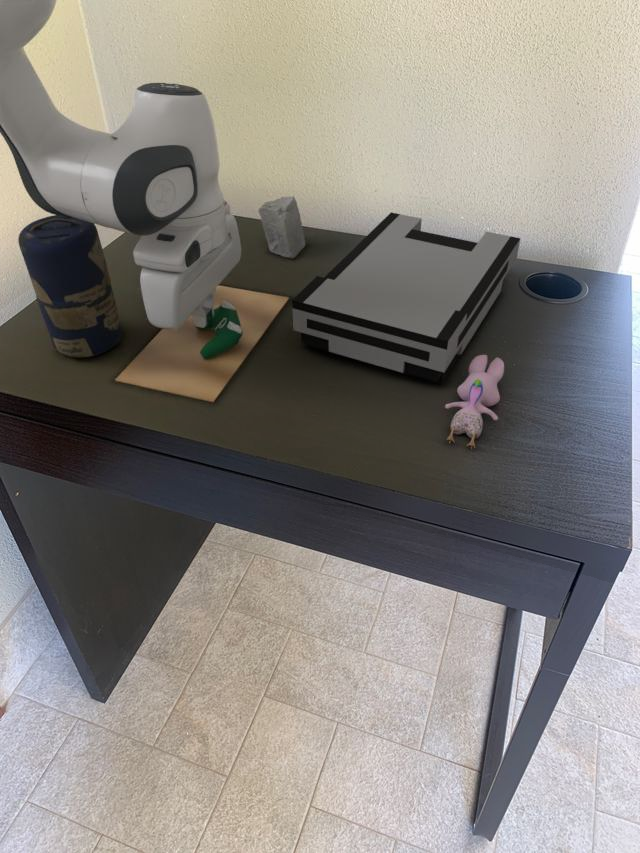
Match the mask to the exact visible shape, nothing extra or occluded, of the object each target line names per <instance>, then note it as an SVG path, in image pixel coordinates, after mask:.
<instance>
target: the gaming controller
mask: <svg viewBox="0 0 640 853" xmlns="http://www.w3.org/2000/svg"><path fill="white" fill-rule="evenodd" d="M195 327H196V326H195ZM196 328H197V329H209V328H214V330H215V334H216V337H214V338H213V339H212V340H210V341H209V342H208V343H206V344H205V345H204V347H203V348H202V349H201V351H200V354H201V355H202V357H203V358H204V359H208V358H212V357H215V356H217V355H220V354H222V353H224V352H225V351H227V350H229V349H230V348H232V347H233V346H235V345H236V344H238V343H239V340H240V338H241V336H242V333H243V331H242V328H241V324H240V321H239V317H238V315H237V311H236V309H235V307H234V306H233V305H232V304H230V303H228V302H226V301H223V303H222V304H221V305H220V307H218V308H215V309H214V317H213V318H212V319H211V320H210V321H209V323H208V324H207V325H206V326H205V327H204V328H202V327H196Z"/></svg>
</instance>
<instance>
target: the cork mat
mask: <svg viewBox="0 0 640 853" xmlns="http://www.w3.org/2000/svg"><path fill="white" fill-rule="evenodd" d="M289 300H290V297H288V296H284V295H277V294H272V293H265V292H261V291H260V292H259V291H253V290H248V289H242V288H236V287H230V286H224V285H220V284H219V285H218V286H217V287H216V296H215V302H214V306H213V308H214V309H215V308H218V307H220V305H221V304H222V303H223V301H226V302H228V303H230V304H232V305H233V306H234V307H235V309H236V311H237V315H238V317H239V321H240V324H241V328H242V331H243V333H242V336H241V338H240V340H239V343H238V344H236V345H235V346H233V347H232V348H230V349H229V350H227V351H225V352H224V353H222V354H220V355H217V356H215V357H212V358H208V359H204V358H203V357H202V355H201V354H200V351H201V349H202V348H203V347H204V345H205V344H206V343H208V342H209V341H210V340H212V339H213V338H214V337H216V334H215V330H214V328H209V329H197V328H196V327H195V325H194V324H193V318H192V315H191V316H190V317H189V318H188V319H187V320H186V321H185V322H184V323H183V325H182V326H181V327H180V328H179V329H178V330H169V329H163V328H161V330H160V331H159V332H158V333H157V334H156V335H155V336H154V337H153V339H151V341H150V342H149V343H147V345H146V346H145V347H144V348H143V349H142V350H141V351H140V352H139V353H138V355H137V356H136V357H135V358H134V359H133V360H131V362H130V363H129V364H128V365H127V366H126V367H125V369H123V370H122V372H121V373H120V374H119V375H118V376H117V377H116V378H115V379H114V381H115V382H116V383H117V382H118V383H122V384H127V385H131V386H136V387H140V388H146V389H148V390H149V389H150V390H155V391H159V392H163V393H167V394H173V395H176V396H182V397H187V398H190V399H194V400H195V399H196V400H200V401H203V402H209V403H214V402H215V401H216V400H217V399H218V397H219V396H220V394H221V393H222V392H223V390H224V389H225V387H226V386H227V385H228V384H229V382H230V381H231V379H232V378H233V376H234V375H235V374H236V372H237V371H238V370H239V369H240V367H241V366H242V364H243V363H244V362H245V361H246V359H247V357H248V356H249V355H250V353H251V352H252V351H253V349H254V348H255V347H256V345H257V344H258V342H259V341H260V339H261V338H262V337H263V335H264V334H265V333H266V331H267V330H268V329H269V327H270V326H271V324H272V323H273V322H274V320H275V319H276V318H277V316H278V315H279V314H280V312H281V311H282V309H283V308H284V307H285V305H286V304H287V303H288V302H289Z"/></svg>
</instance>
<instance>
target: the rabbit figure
mask: <svg viewBox="0 0 640 853" xmlns="http://www.w3.org/2000/svg"><path fill="white" fill-rule="evenodd" d="M487 365H488V354H479V355H476V356H475V357H474V358H473V359H472V360H471V362H470V363H469V365H468V375H467V377H466V379H465V380H464V381H463V382H462V383H461V384H460V385H459V386H458V387H457V390H456V392H457V395H458V396H459V398H460V399H461V400H462V401H454V402H450V403H447V404H445V406H444V408H445V409H447V410H449V409H451V408H460V409H459V410H458V411H457V412H456V413H455V414H454V416H453V417H452V420H451V423H450V431H451V432H450V433H449V436H448V437H447V439H446V441H449V442H448V443H449V444H451V442H453V443H455V442H456V441H455V439H454V435H457V436H458V435H462V434H466V435H467V437H468V438H470V442H469V443H468V444H466V447H467V446H471V447H470V448H471V449H470V450H473V448H474V449H475V448H476V444H475V439H477V438H479V437H480V436H481V434H482V431H483V427H484V426H483V425H484V421H483V417H482V414H486V415H488V416H490V417H491V418H492V420H493V421H498V420H499V417H498V415H497V414H496V413H495V412H494V411H492V410H491V409H490V408H489V407H492V406H494V405H496V404H498V403H499V402H500V400H501V396H500V392H499V389H498V383H499V382H500V381H501V380H502V378H503V376H504V373H505V363H504V361H503V360H502V359H501V358H500V357H495V358H494V359H493V360H492V361H491V362H490V364H489V366H488V368H487ZM486 368H487V370H486Z"/></svg>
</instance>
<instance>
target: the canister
mask: <svg viewBox="0 0 640 853" xmlns="http://www.w3.org/2000/svg"><path fill="white" fill-rule="evenodd" d="M100 238H101V237H100V235H99V231H98V228H97V226H96V224H94V223H91V222H88V221H84V220H81V219H76V218H70V217H65V216H59V215H54V214H53V215H49V216H45V217H42V218H39V219H37V220H34V221H32V222H30V223H29V224H28V225H26V226H24V227H23V228H22V230H21V231H20V232H19V234H18V238H17V240H18V241H17V243H18V246H19V250H20V252H21V255H22V257H23V261H24V263H25V267H26V269H27V273H28V275H29V278H30V282H31V284H32V287H33V290H34V293H35V298H36V301H37V304H38V307H39V310H40V312H41V315H42V318H43V321H44V324H45V326H46V329H47V332H48V335H49V338H50V341H51V344H52V346H53V347H54V349H55V350H56V351H58V352H59V353H60V354H62V355H64V356H67V357H71V358H88V357H89V358H90V357H95V356H97V355H101V354H103V353H105V352H108V351H109V350H110V349H112V348H114V347H115V345H117V344H118V342H119V341H120V339H121V337H122V335H123V334H122V333H123V327H122V323H121V319H120V314H119V311H118V307H117V302H116V299H115V294H114V291H113V287H112V283H111V282H112V281H111V277H110V272H109V270H108V265H107V261H106V257H105V253H104V250H103V246H102V242H101V239H100Z"/></svg>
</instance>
